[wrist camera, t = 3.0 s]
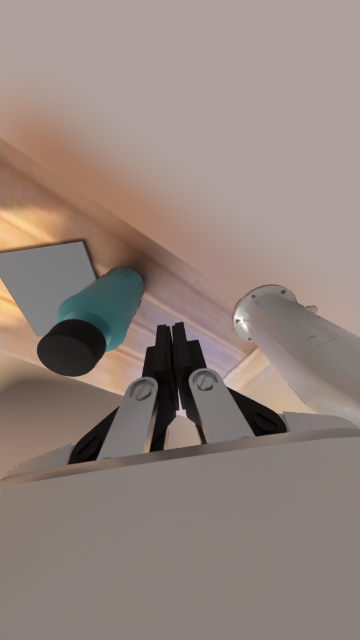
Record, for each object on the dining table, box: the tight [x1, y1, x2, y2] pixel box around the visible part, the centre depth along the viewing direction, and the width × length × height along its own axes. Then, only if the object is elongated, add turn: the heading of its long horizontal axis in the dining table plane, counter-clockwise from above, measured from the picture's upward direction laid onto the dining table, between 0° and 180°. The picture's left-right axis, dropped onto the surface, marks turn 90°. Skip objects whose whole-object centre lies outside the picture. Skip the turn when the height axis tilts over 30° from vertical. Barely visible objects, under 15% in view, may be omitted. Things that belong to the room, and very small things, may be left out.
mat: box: [0, 241, 97, 337], centre depth 29 cm, size 15×15×1 cm
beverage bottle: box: [37, 267, 145, 377], centre depth 20 cm, size 6×7×20 cm
